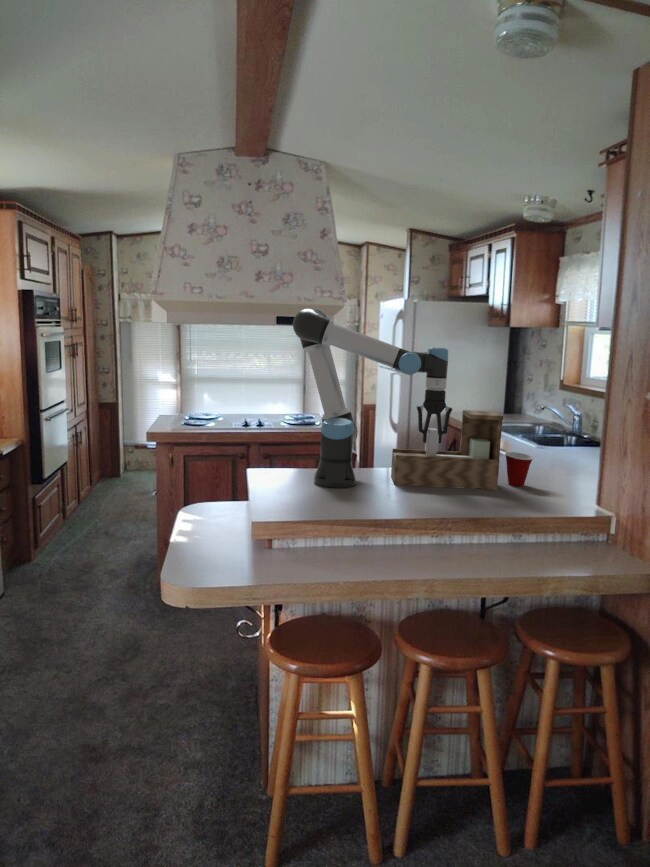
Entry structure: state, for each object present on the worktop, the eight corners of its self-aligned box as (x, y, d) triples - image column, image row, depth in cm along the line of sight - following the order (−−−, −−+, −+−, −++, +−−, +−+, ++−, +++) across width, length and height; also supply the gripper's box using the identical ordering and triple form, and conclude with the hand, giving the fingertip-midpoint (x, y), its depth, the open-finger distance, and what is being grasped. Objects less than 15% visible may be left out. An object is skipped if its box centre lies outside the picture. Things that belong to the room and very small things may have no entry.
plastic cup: (525, 489, 246) (528, 458, 245) (497, 484, 253) (500, 453, 251) (535, 485, 255) (538, 454, 253) (508, 480, 261) (511, 450, 260)
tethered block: (428, 457, 246) (430, 430, 245) (425, 454, 253) (427, 427, 251) (488, 460, 246) (490, 433, 244) (484, 457, 253) (486, 430, 251)
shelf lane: (394, 484, 244) (398, 411, 240) (390, 476, 258) (395, 406, 254) (496, 489, 244) (503, 416, 240) (488, 481, 258) (494, 411, 254)
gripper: (415, 389, 242) (411, 452, 246) (459, 391, 242) (454, 454, 246) (412, 387, 249) (408, 448, 253) (455, 389, 249) (450, 450, 253)
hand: (431, 451), depth 249 cm, fingers closed on tethered block, 3 cm apart
